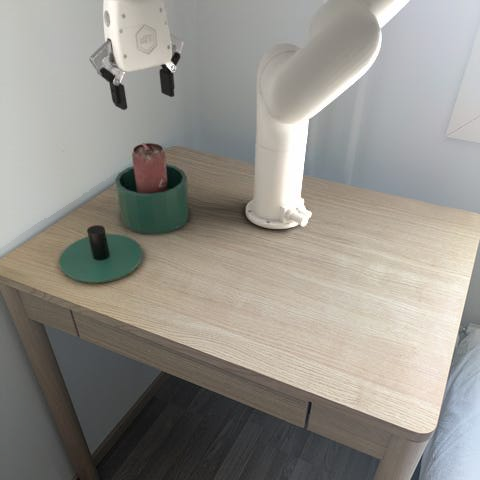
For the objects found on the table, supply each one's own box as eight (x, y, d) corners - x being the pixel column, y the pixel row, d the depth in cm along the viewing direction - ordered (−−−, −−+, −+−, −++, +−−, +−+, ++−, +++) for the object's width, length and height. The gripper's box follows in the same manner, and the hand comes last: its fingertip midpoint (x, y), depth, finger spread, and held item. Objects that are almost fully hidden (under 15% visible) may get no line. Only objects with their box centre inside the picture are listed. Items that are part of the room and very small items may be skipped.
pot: (201, 219, 101) (200, 180, 96) (145, 242, 95) (140, 202, 89) (164, 194, 109) (160, 157, 103) (109, 214, 102) (102, 175, 96)
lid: (158, 263, 89) (154, 232, 85) (84, 296, 82) (76, 264, 78) (117, 230, 98) (111, 200, 93) (47, 257, 90) (37, 226, 86)
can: (158, 203, 105) (152, 138, 95) (176, 215, 101) (170, 149, 92) (134, 212, 102) (124, 146, 92) (150, 225, 98) (142, 158, 89)
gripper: (90, -6, 69) (112, 119, 80) (190, -19, 77) (197, 95, 88) (66, -13, 73) (90, 107, 84) (163, -25, 81) (173, 85, 93)
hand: (145, 101), depth 86 cm, fingers open, 9 cm apart
